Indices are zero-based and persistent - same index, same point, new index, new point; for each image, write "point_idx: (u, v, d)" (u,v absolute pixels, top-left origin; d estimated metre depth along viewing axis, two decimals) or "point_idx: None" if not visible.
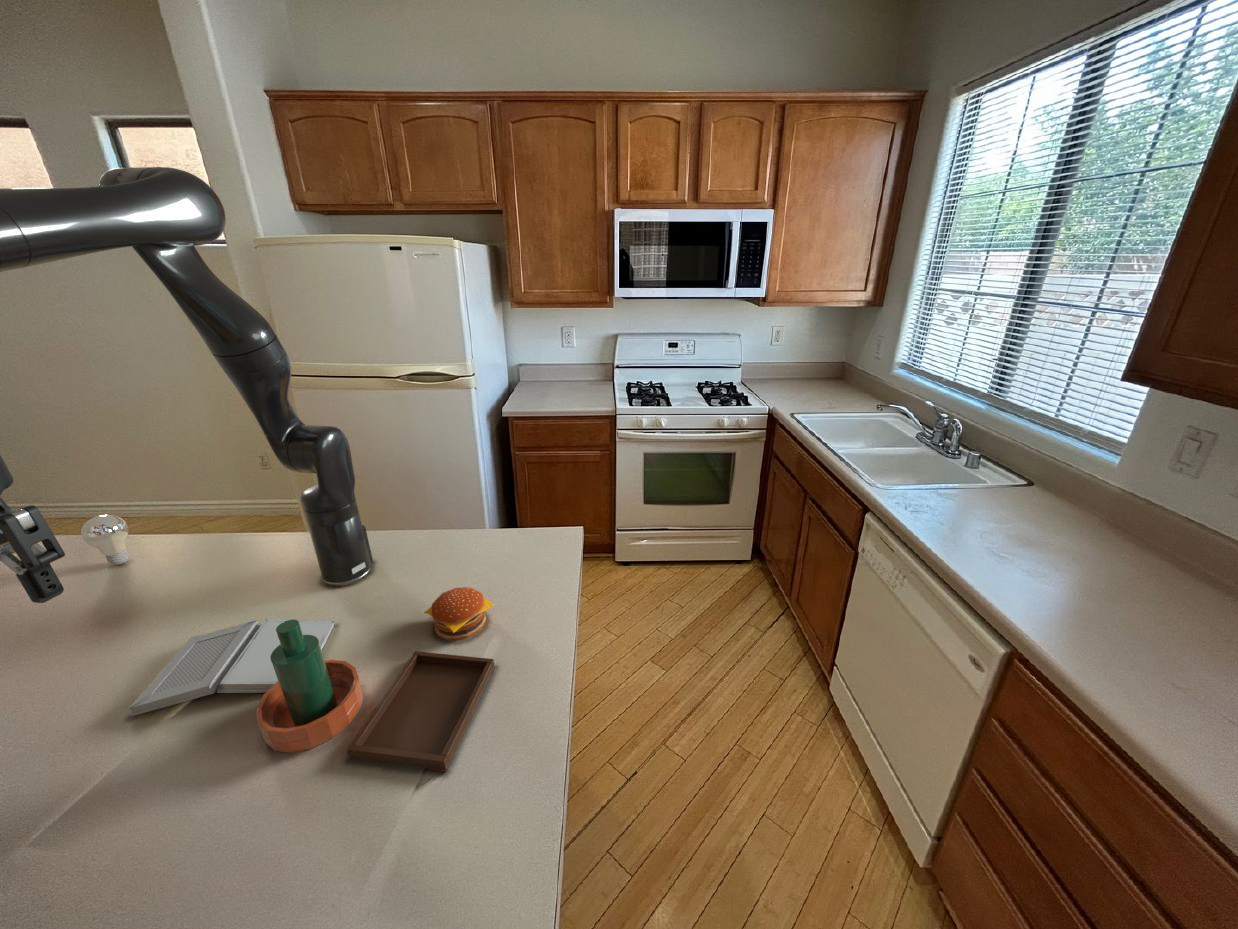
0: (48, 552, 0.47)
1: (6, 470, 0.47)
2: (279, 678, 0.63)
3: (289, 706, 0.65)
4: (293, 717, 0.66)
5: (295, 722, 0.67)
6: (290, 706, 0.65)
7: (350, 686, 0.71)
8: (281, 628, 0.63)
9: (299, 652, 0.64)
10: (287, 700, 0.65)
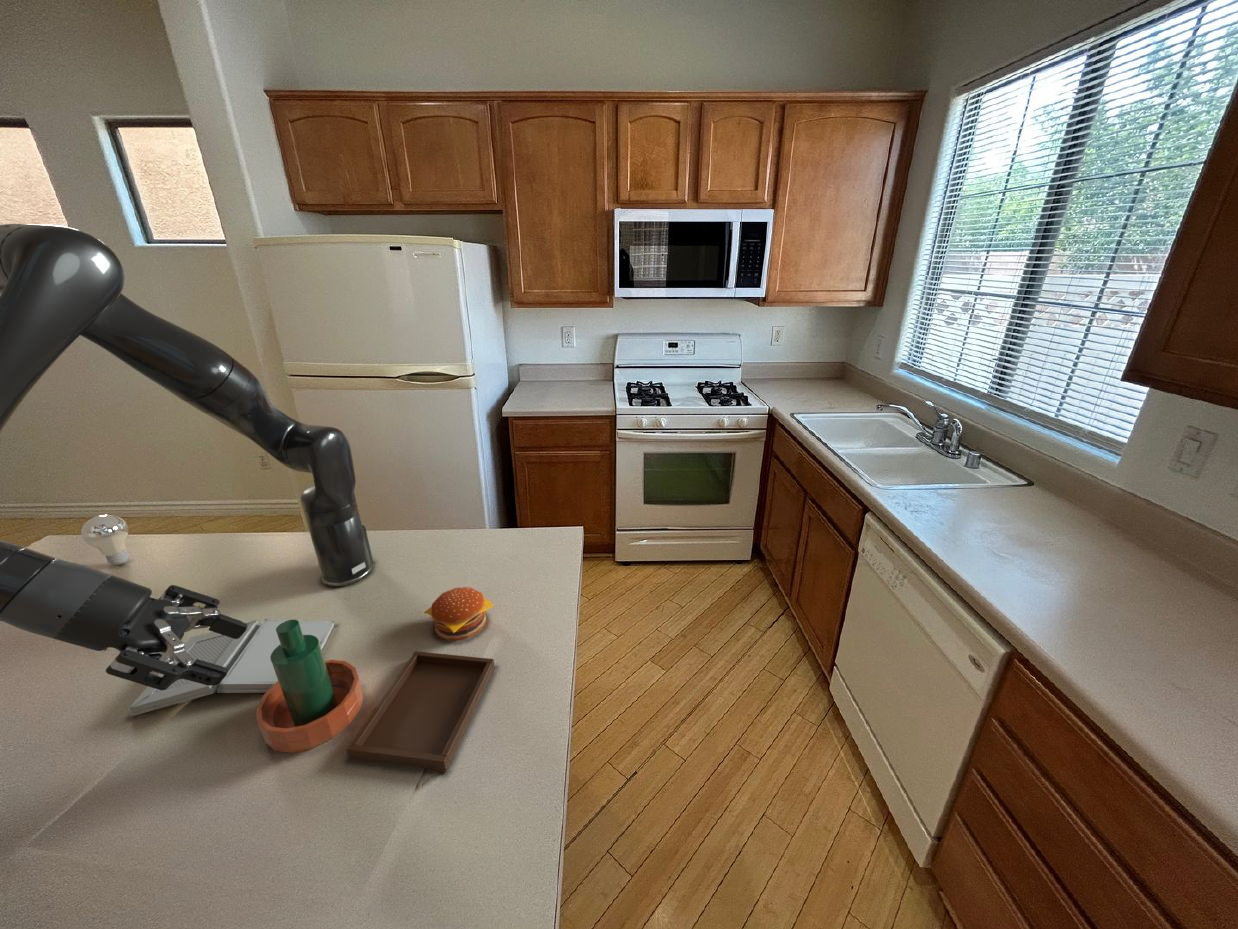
0: (164, 676, 0.53)
1: (116, 610, 0.53)
2: (279, 678, 0.63)
3: (289, 706, 0.65)
4: (293, 717, 0.66)
5: (295, 722, 0.67)
6: (290, 706, 0.65)
7: (350, 686, 0.71)
8: (281, 628, 0.63)
9: (299, 652, 0.64)
10: (287, 700, 0.65)
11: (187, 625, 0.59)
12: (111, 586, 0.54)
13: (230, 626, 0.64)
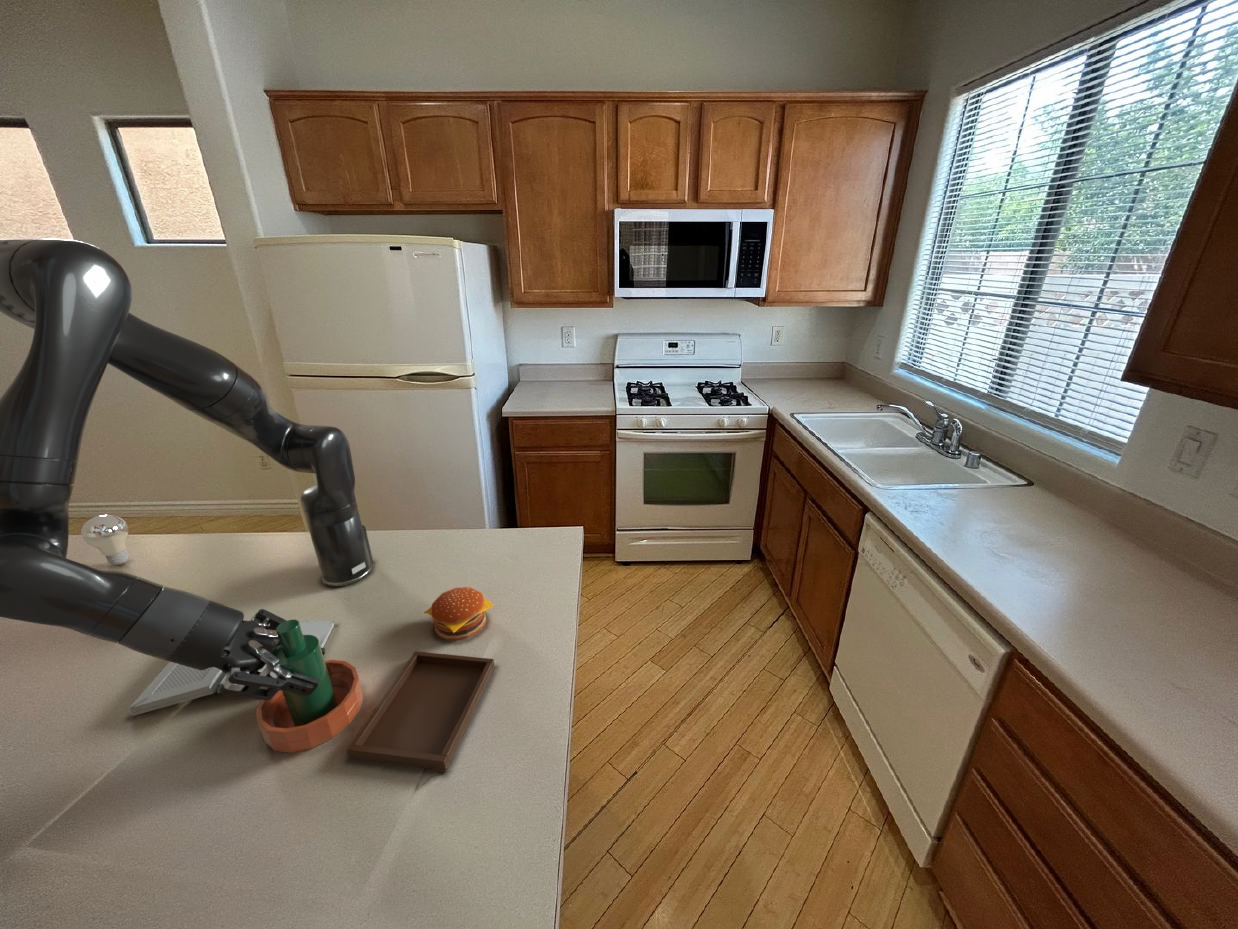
0: (269, 688, 0.60)
1: (219, 633, 0.58)
2: None
3: (289, 706, 0.65)
4: (293, 717, 0.66)
5: (295, 722, 0.67)
6: (290, 706, 0.65)
7: (350, 686, 0.71)
8: (282, 628, 0.63)
9: (299, 653, 0.64)
10: (287, 700, 0.65)
11: (271, 647, 0.64)
12: (212, 611, 0.59)
13: None
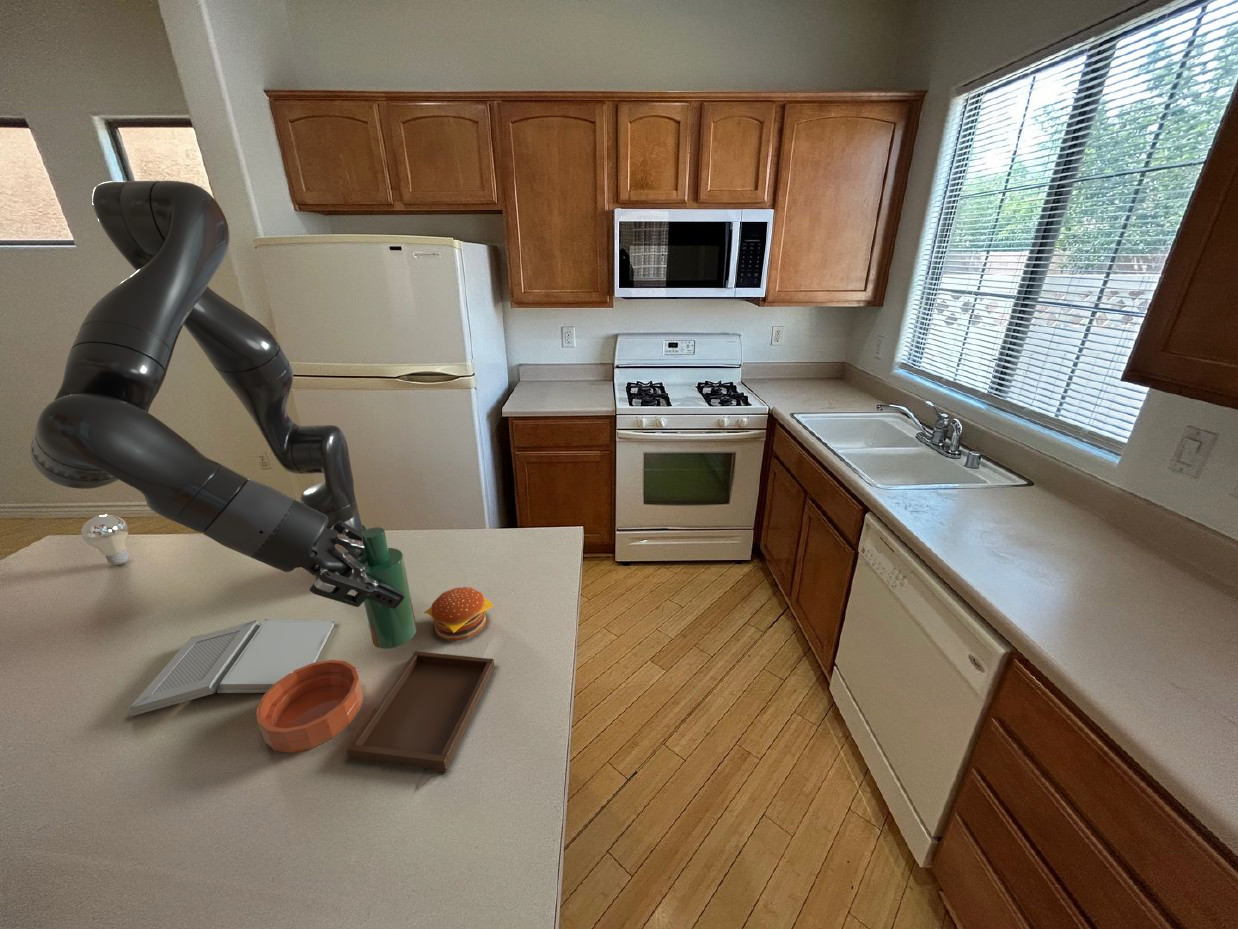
0: (359, 593, 0.55)
1: (307, 530, 0.53)
2: None
3: (371, 622, 0.61)
4: (374, 635, 0.62)
5: (376, 640, 0.62)
6: (373, 621, 0.61)
7: (350, 686, 0.71)
8: (367, 533, 0.58)
9: (384, 562, 0.60)
10: (370, 615, 0.60)
11: (355, 556, 0.59)
12: (299, 507, 0.54)
13: None
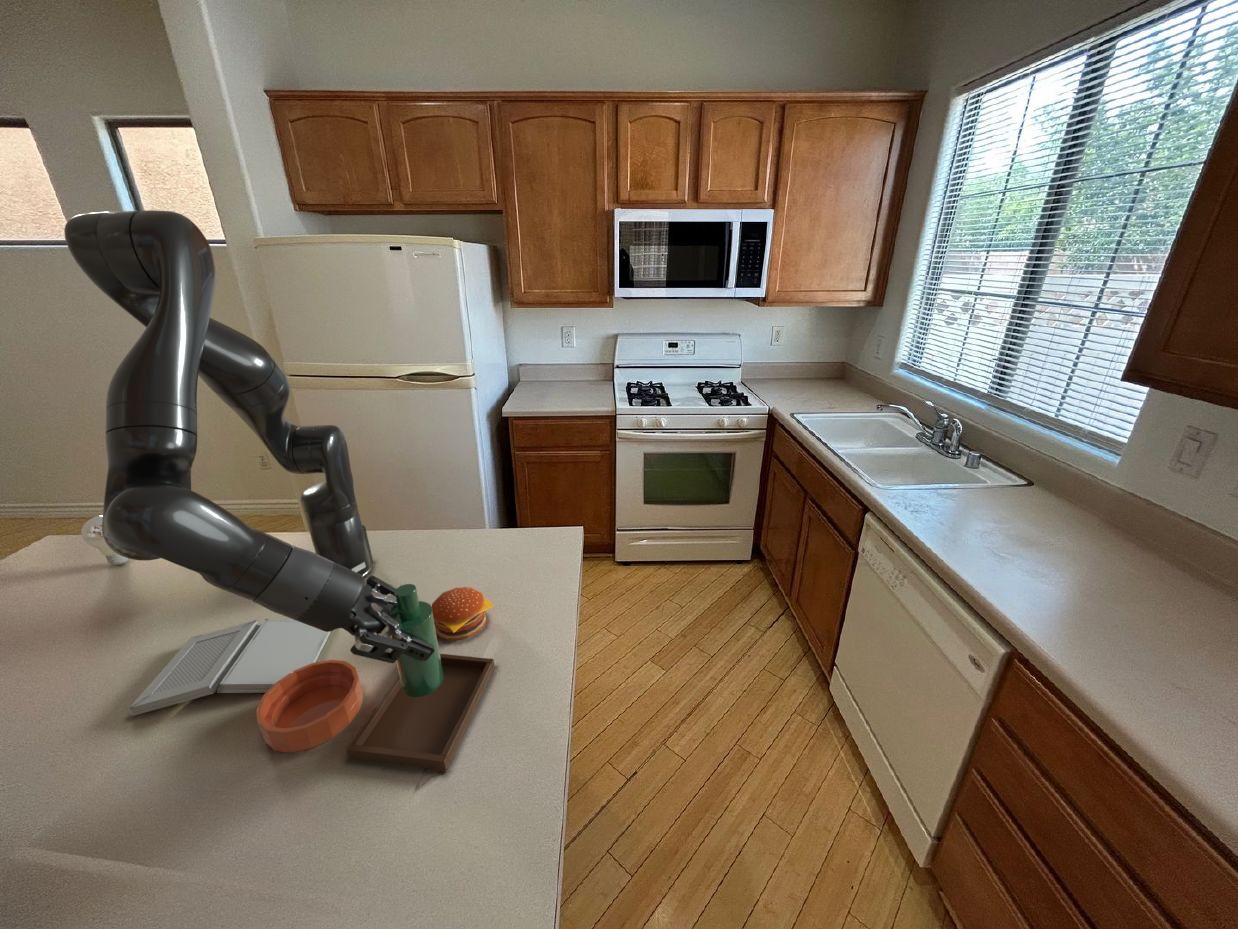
0: (394, 650, 0.59)
1: (347, 593, 0.57)
2: None
3: (403, 673, 0.64)
4: (405, 684, 0.65)
5: (407, 689, 0.65)
6: (404, 672, 0.64)
7: (350, 686, 0.71)
8: (400, 591, 0.62)
9: (415, 617, 0.63)
10: (401, 666, 0.64)
11: (388, 612, 0.63)
12: (339, 571, 0.58)
13: None
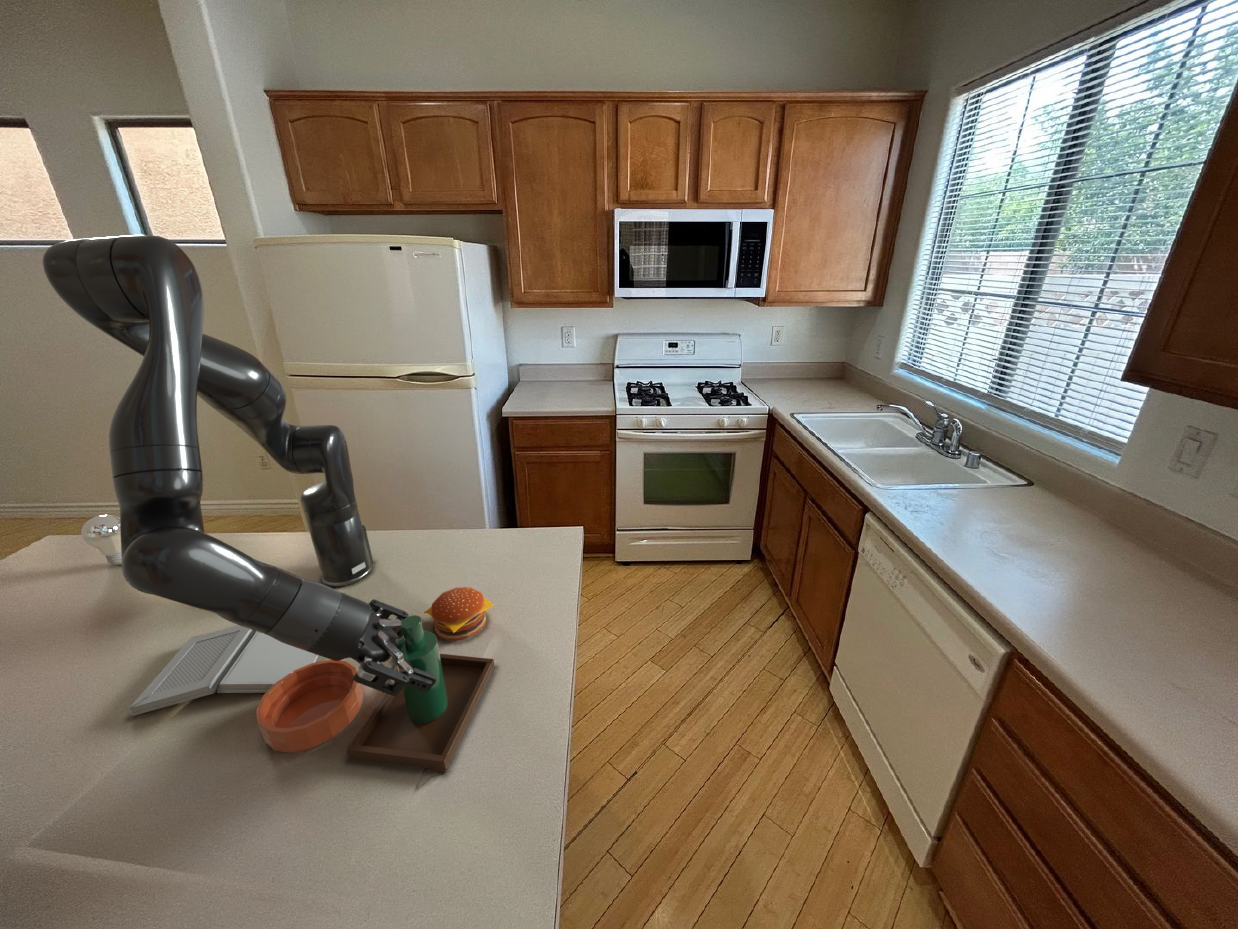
0: (396, 683, 0.59)
1: (355, 624, 0.59)
2: None
3: (409, 701, 0.66)
4: (411, 712, 0.67)
5: (413, 717, 0.67)
6: (410, 701, 0.66)
7: (350, 686, 0.71)
8: (406, 623, 0.64)
9: (421, 648, 0.65)
10: (407, 695, 0.66)
11: (395, 636, 0.65)
12: (347, 602, 0.59)
13: None
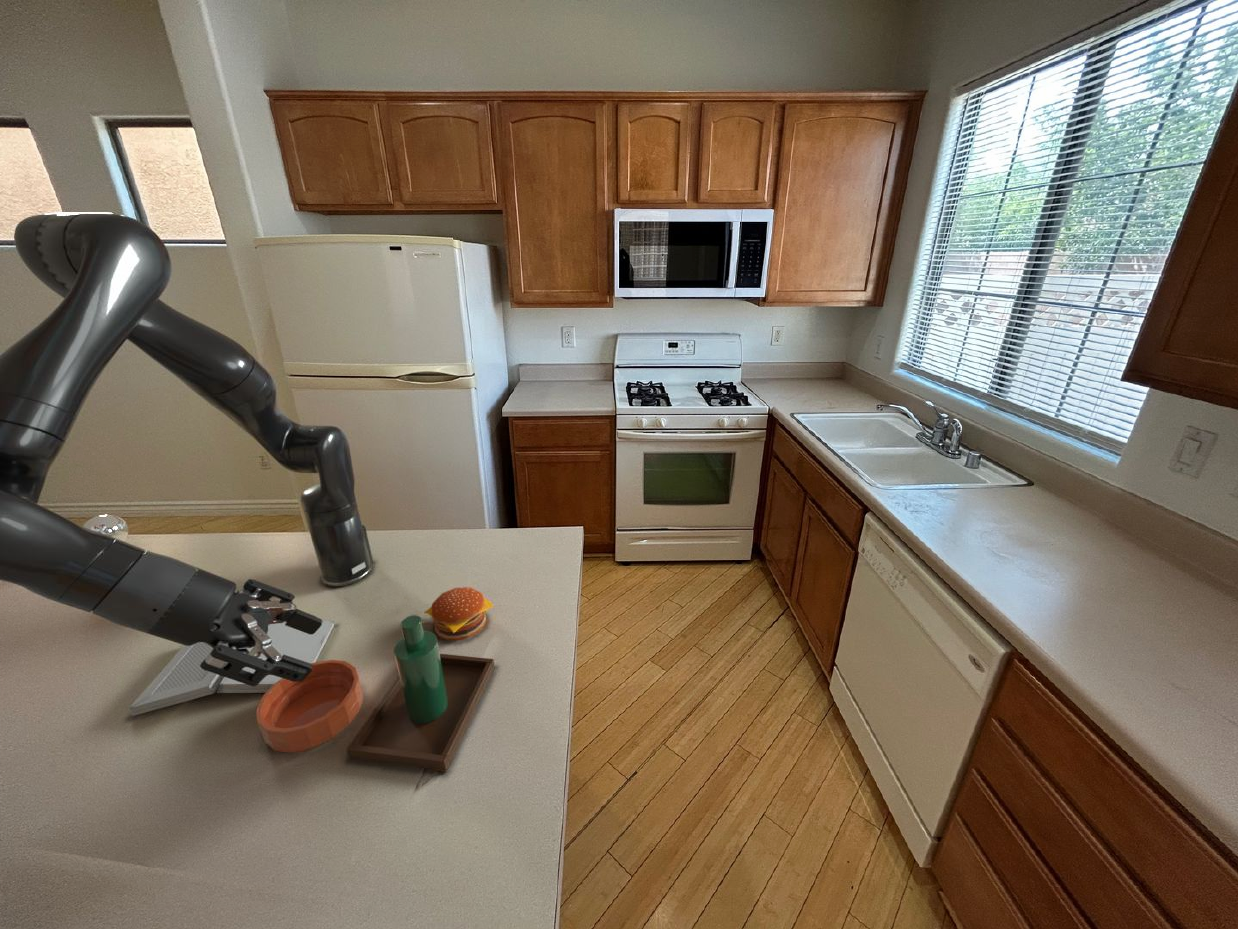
0: (256, 672, 0.52)
1: (208, 604, 0.51)
2: (402, 673, 0.64)
3: (409, 701, 0.66)
4: (411, 712, 0.67)
5: (413, 717, 0.67)
6: (410, 701, 0.66)
7: (350, 686, 0.71)
8: (406, 623, 0.64)
9: (421, 648, 0.65)
10: (407, 695, 0.66)
11: (269, 620, 0.58)
12: (201, 579, 0.52)
13: (306, 621, 0.63)
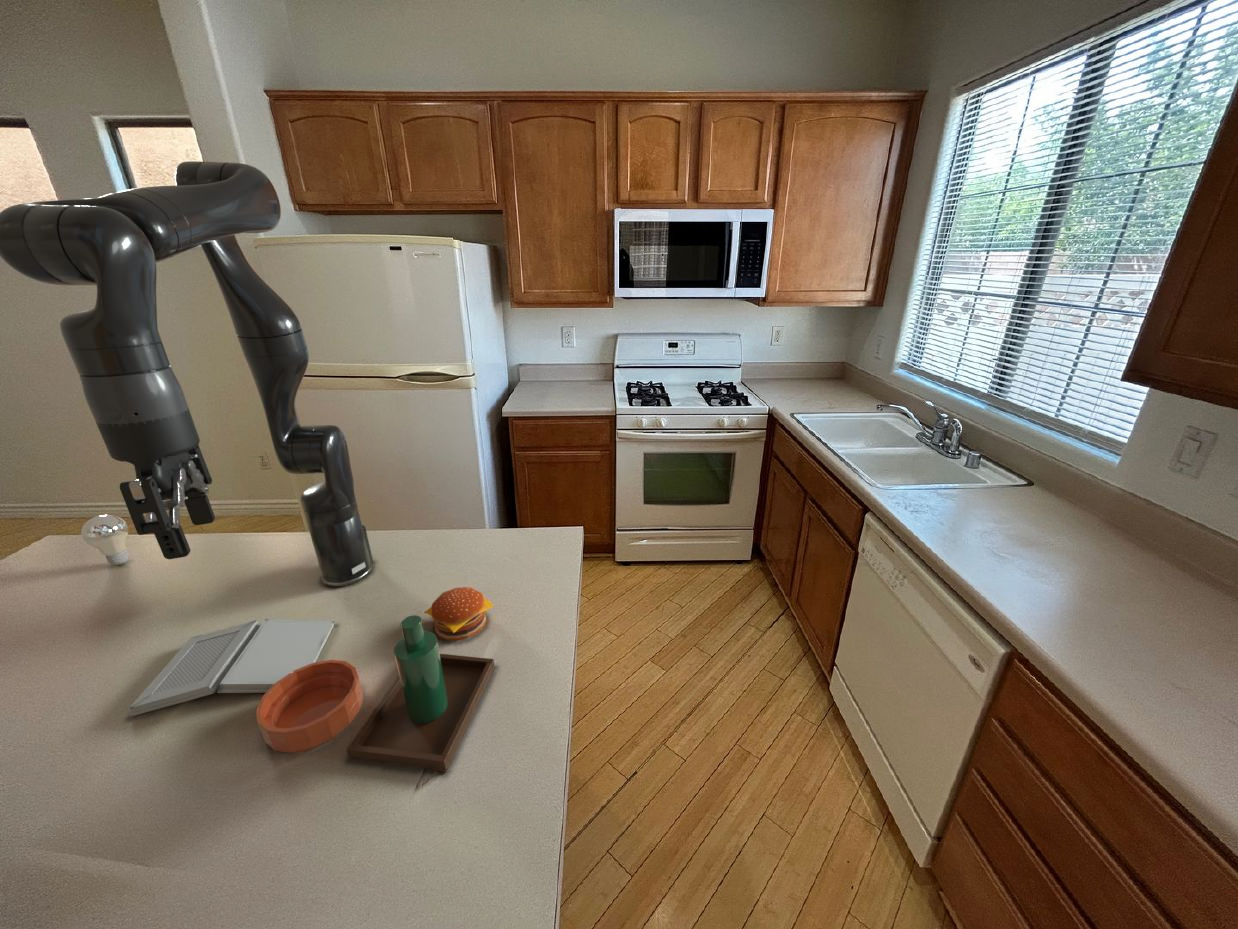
0: (154, 523, 0.50)
1: (174, 441, 0.52)
2: (402, 673, 0.64)
3: (409, 701, 0.66)
4: (411, 712, 0.67)
5: (413, 717, 0.67)
6: (410, 701, 0.66)
7: (350, 686, 0.71)
8: (406, 623, 0.64)
9: (421, 648, 0.65)
10: (407, 695, 0.66)
11: (188, 487, 0.57)
12: (187, 418, 0.53)
13: (203, 510, 0.61)
